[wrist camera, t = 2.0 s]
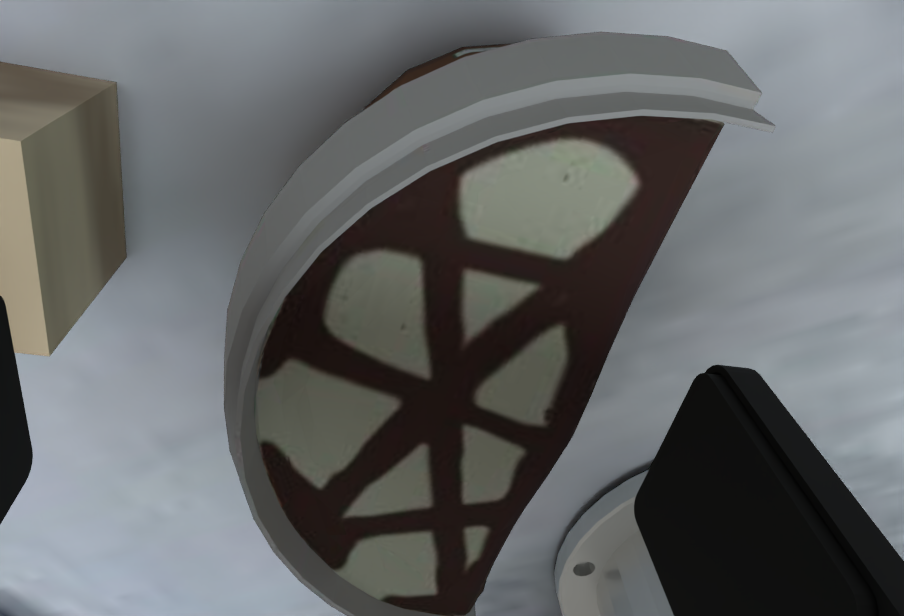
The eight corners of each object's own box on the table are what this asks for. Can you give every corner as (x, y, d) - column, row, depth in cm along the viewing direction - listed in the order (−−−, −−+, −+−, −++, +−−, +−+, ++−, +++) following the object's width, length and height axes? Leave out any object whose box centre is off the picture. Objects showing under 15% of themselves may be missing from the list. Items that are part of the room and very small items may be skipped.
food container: (343, -98, 15) (271, -107, 6) (589, -9, 16) (802, 82, 8) (255, 338, 21) (157, 638, 12) (441, 378, 22) (468, 673, 14)
